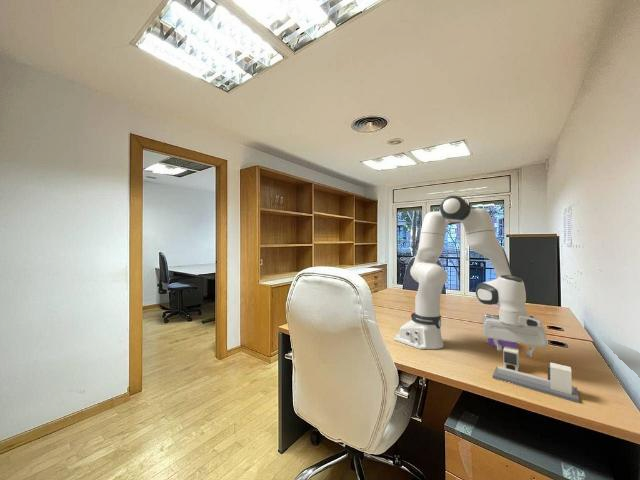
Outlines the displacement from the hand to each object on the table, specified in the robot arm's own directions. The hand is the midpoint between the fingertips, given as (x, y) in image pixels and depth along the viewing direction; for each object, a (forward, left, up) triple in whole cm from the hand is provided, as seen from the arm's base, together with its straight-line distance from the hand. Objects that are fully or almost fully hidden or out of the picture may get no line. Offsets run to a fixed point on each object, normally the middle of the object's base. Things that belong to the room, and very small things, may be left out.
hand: (514, 353), depth 102 cm
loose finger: (-1, -1, -5) cm, 6 cm away
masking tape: (-7, +25, -6) cm, 26 cm away
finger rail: (+6, -11, -5) cm, 14 cm away
